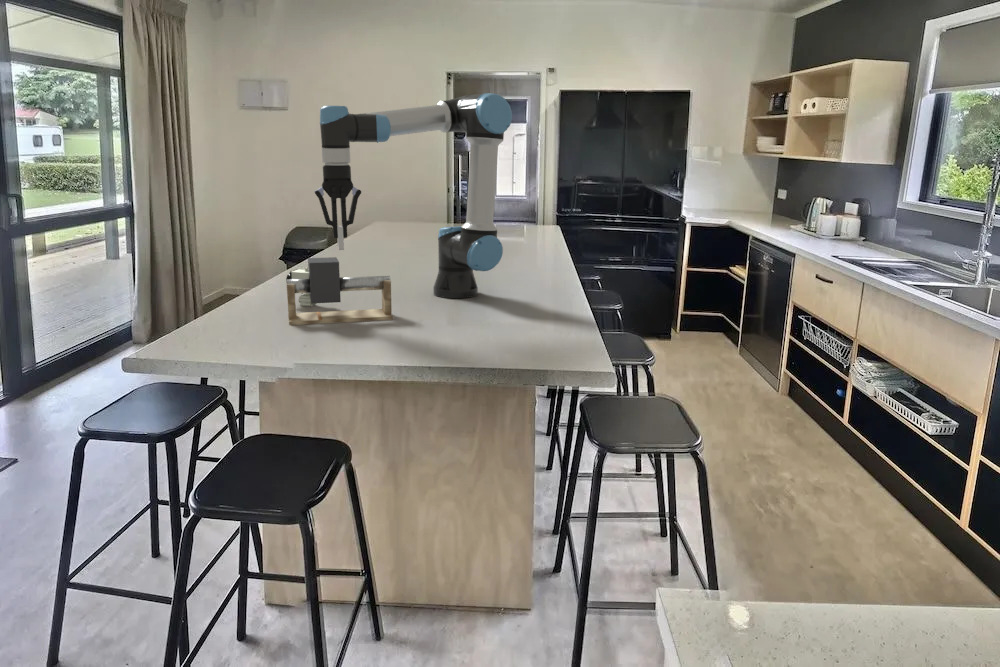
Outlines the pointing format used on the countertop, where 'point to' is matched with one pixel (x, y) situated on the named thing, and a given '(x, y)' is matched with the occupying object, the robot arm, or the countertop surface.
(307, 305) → the pneumatic valve
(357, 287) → the pipe
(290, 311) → the pipe rig
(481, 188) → the robot arm
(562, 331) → the countertop surface
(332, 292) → the collar
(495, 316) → the countertop surface
